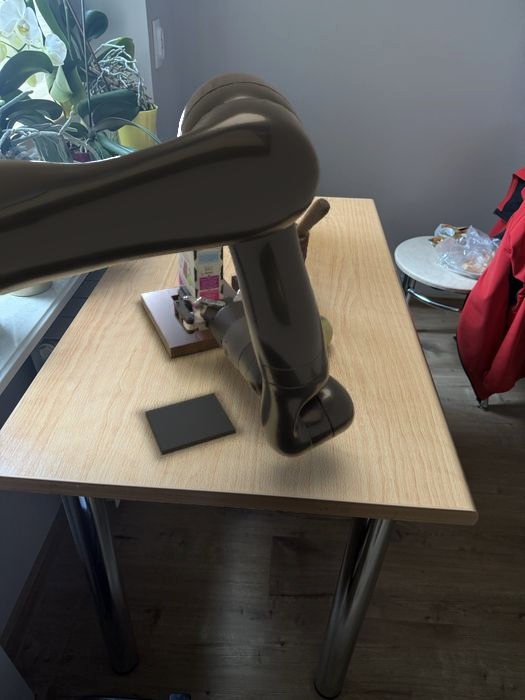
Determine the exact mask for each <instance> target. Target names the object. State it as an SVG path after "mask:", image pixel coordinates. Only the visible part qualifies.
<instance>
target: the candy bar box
mask: <svg viewBox="0 0 525 700" xmlns="http://www.w3.org/2000/svg"><path fill="white" fill-rule="evenodd" d="M177 265H178V283H179V284H178V285H179V286H178V287H180V286H181V285H185V286H186V287H187V289H188V290H189V292H190V293H191V294H192V297H195V298H200V297H205V298H208V299H211V300H216V299H223V278H224V246H222V247H215V248H209V249H202V250H195V251H189V252H182V253H177ZM207 307H208V306H205V310H206V309H207ZM193 308H195V309H196V306H195V305H194V304H193ZM206 329H208V328H206V327H204V326H203V327H199V328H195V332H197V331H201V330H206Z"/></svg>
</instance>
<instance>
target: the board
mask: <svg viewBox="0 0 525 700" xmlns="http://www.w3.org/2000/svg"><path fill="white" fill-rule="evenodd" d="M178 289H180V287H179V286H175V287H170V288H164V289H159V290H155V291H149V292H144V293H140V301H141V305H142V306H143V309H144V311H145V312H146V315H147V316H148V318H149V319H150V321H151V323H152V326H153V327H154V329H155V331H156V333H157V334H158V336H159V338H160V340H161V342H162V343H163V345H164V347H165V349H166V351H167V354H168V355H169V357H170V359H174V358H178V357H181V356H185V355H190V354H194V353H199V352H203V351H207V350H212V349H216V348H221V346H220V345H219V343H218V342H217V340H216V339H215V337H214V336H213V334H212V331H211V330H210V329H206V330H201V331H197V332H195V333H194V334H187V333H186V331H185V330H184V329H183V327H182V326H181V325H180V323H179V322H178V321H177V319H176V318H175V316H174V313H175V312H174V304H173V302H174V301H175V300H179V299H178ZM236 295H237V293H236V292H235V291H234V290H233V288H232V286H231V284H229V283H228V281H226V279H225V278H224V277H223V299H224V298H226V297H230V296H232V297H236Z"/></svg>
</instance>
